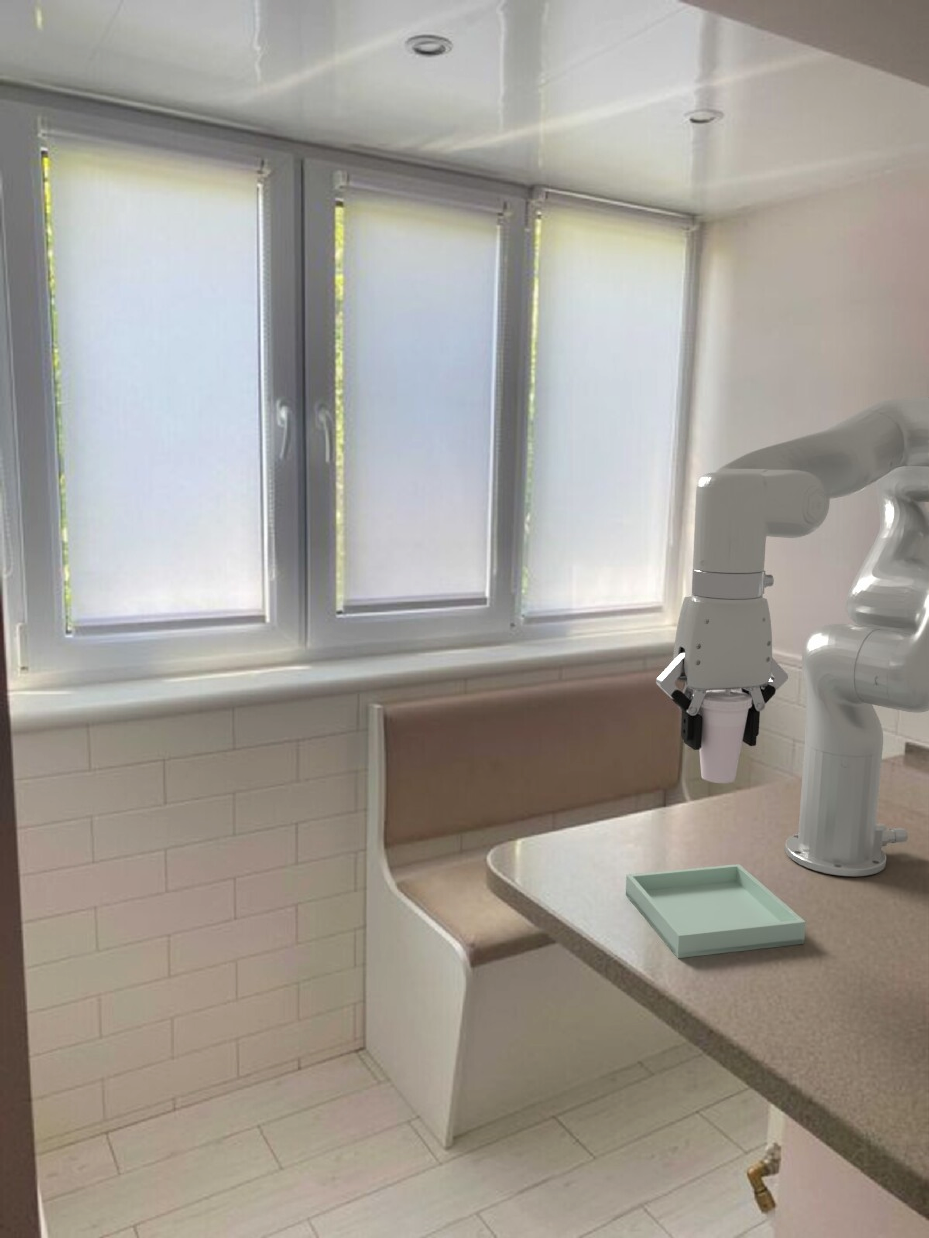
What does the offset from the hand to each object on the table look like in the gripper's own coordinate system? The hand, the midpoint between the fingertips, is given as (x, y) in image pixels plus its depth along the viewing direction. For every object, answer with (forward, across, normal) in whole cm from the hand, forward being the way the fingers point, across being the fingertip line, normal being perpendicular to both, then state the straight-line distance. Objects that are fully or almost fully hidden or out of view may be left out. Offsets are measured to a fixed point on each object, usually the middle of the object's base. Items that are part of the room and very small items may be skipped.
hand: (719, 742), depth 105 cm
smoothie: (+4, 0, 0) cm, 4 cm away
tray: (+21, 0, 0) cm, 21 cm away
